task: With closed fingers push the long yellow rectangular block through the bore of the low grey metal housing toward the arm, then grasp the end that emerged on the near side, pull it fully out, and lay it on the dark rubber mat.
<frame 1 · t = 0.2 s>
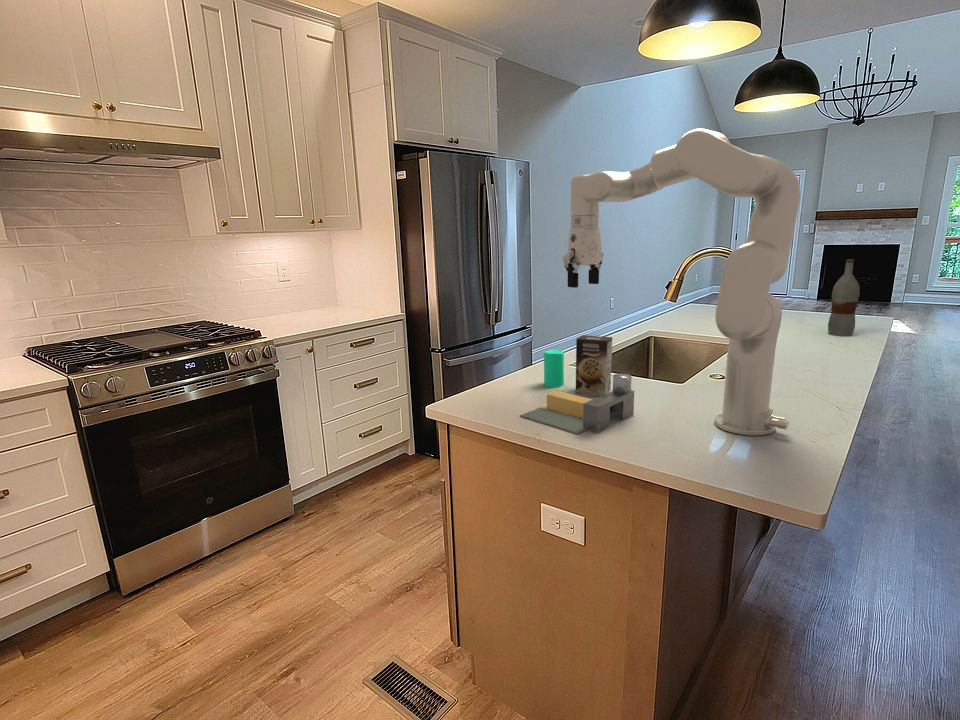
hand: (583, 285, 146), 31 cm above the worktop, fingers open, 9 cm apart
coffee box: (593, 392, 151), on the worktop
yellow rectangular block: (574, 412, 135), on the worktop
candle: (553, 385, 159), on the worktop
housing: (609, 421, 127), on the worktop
bottle: (840, 334, 211), on the worktop
mat: (557, 420, 129), on the worktop
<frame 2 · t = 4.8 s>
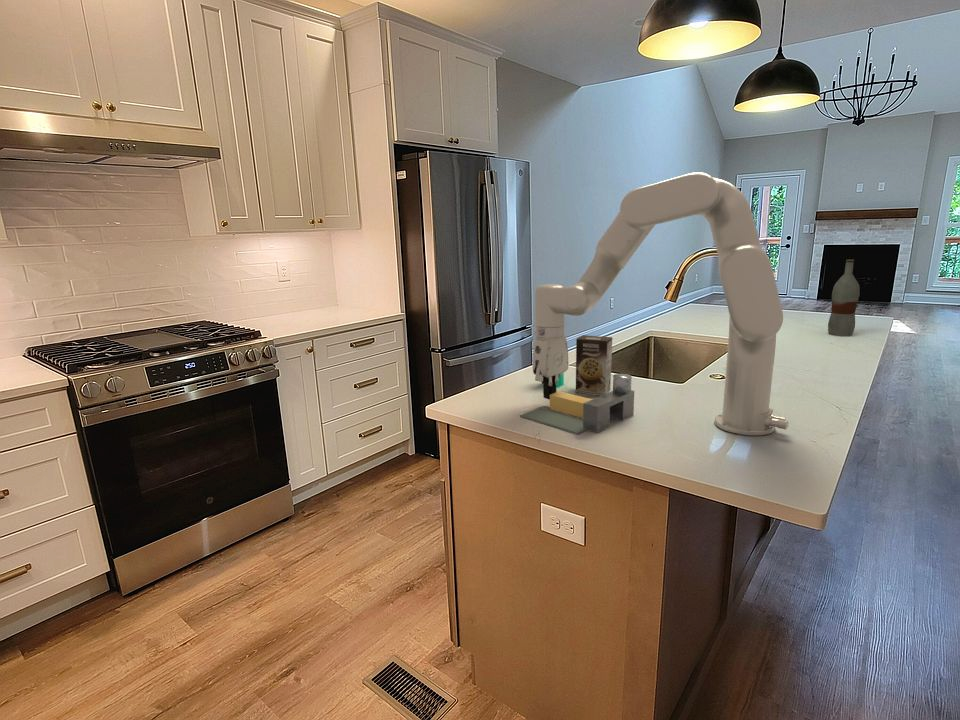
hand: (549, 398, 140), 2 cm above the worktop, fingers closed
yellow rectangular block: (577, 413, 134), on the worktop, touching gripper
everything else where it was.
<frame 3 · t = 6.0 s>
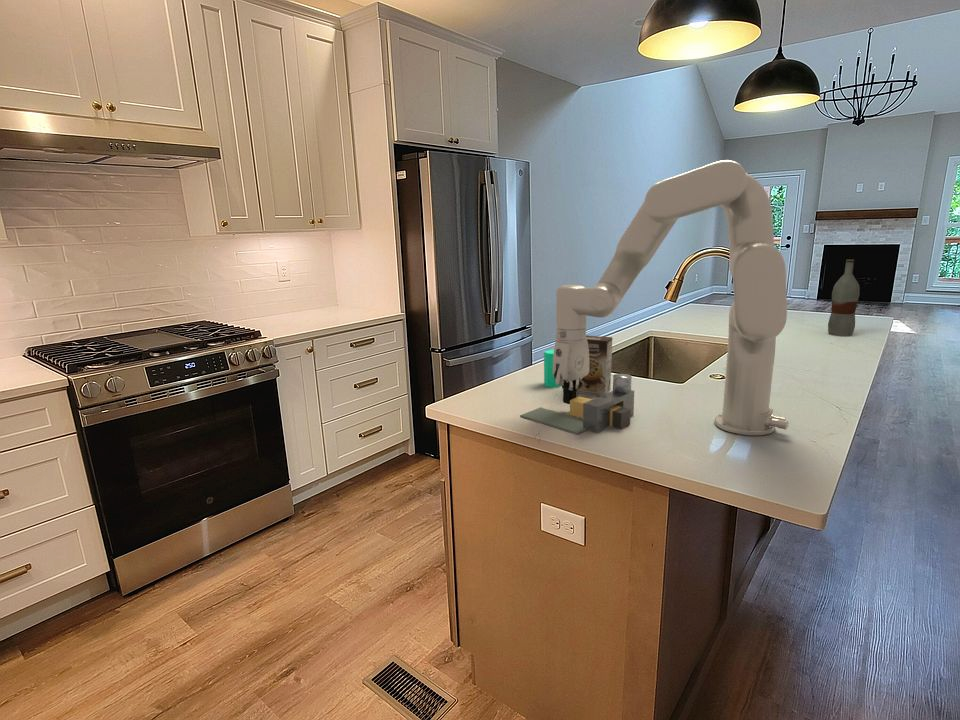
hand: (569, 403, 135), 2 cm above the worktop, fingers closed
yellow rectangular block: (599, 419, 129), on the worktop, touching gripper
everything else where it was.
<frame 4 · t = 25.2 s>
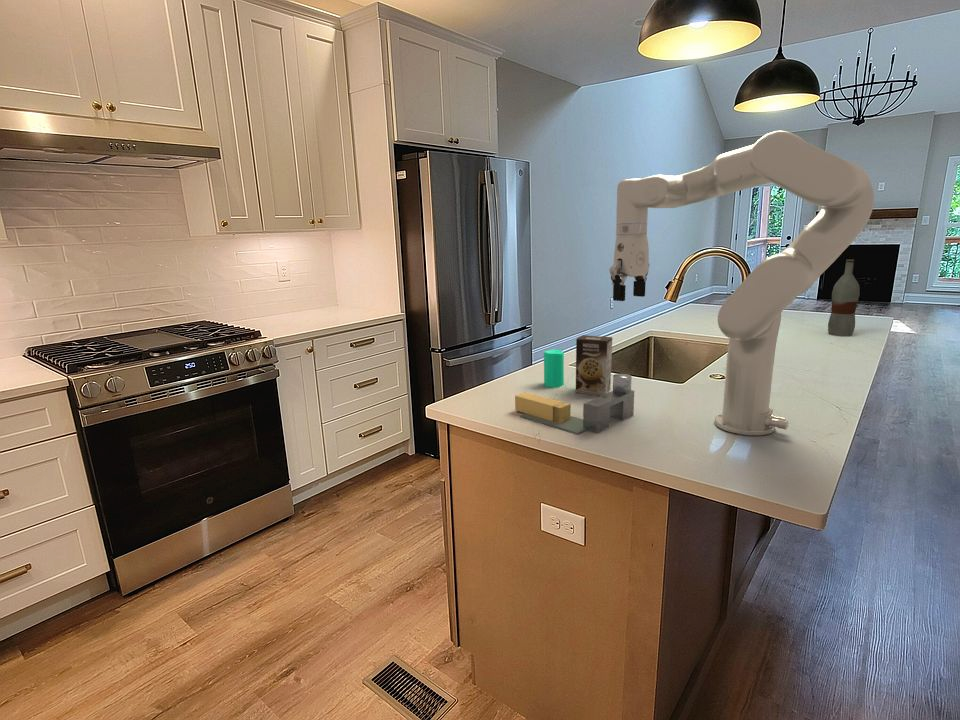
hand: (629, 298, 134), 28 cm above the worktop, fingers open, 9 cm apart
yellow rectangular block: (542, 414, 133), on the worktop, touching mat
everything else where it was.
at the end: yellow rectangular block inside the target area on the mat (5.1 cm from its centre), point 0.4 cm above the mat's base; yellow rectangular block touching mat; the gripper is holding nothing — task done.
